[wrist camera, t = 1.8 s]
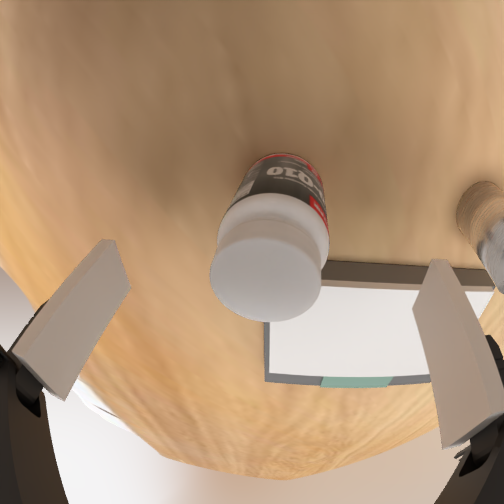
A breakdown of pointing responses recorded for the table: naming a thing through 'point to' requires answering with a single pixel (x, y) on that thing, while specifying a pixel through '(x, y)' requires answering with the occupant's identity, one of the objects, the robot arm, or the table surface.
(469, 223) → the cylinder
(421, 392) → the table surface
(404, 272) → the kitchen scale
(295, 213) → the pill bottle
